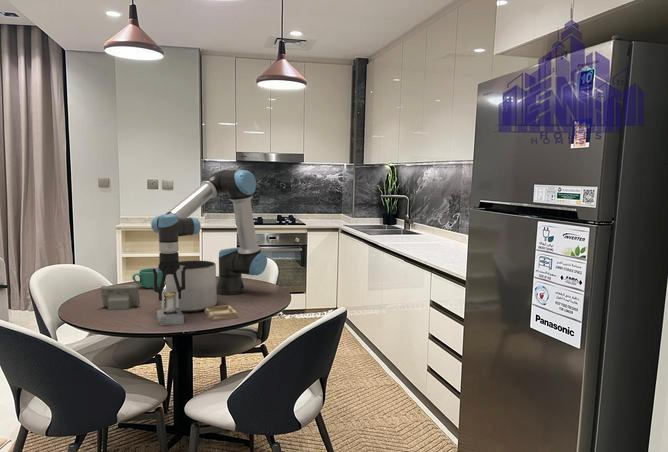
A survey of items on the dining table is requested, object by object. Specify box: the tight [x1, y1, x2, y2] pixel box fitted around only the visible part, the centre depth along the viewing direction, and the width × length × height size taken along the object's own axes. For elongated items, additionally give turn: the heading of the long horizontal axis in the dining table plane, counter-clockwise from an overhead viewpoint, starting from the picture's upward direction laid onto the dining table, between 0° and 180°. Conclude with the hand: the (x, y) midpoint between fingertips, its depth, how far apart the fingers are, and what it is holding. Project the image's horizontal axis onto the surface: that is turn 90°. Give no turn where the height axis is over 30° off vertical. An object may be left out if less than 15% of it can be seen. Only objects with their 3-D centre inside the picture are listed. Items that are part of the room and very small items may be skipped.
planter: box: [165, 260, 218, 313], centre depth 224 cm, size 23×23×20 cm
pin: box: [163, 291, 176, 315], centre depth 202 cm, size 5×5×12 cm
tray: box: [204, 304, 238, 322], centre depth 211 cm, size 14×11×2 cm
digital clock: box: [100, 284, 141, 311], centre depth 222 cm, size 16×9×11 cm, turn 88°
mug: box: [132, 267, 162, 290], centre depth 263 cm, size 17×13×10 cm
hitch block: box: [156, 308, 185, 327], centre depth 202 cm, size 12×9×4 cm
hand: (170, 307), depth 202 cm, fingers closed on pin, 5 cm apart
